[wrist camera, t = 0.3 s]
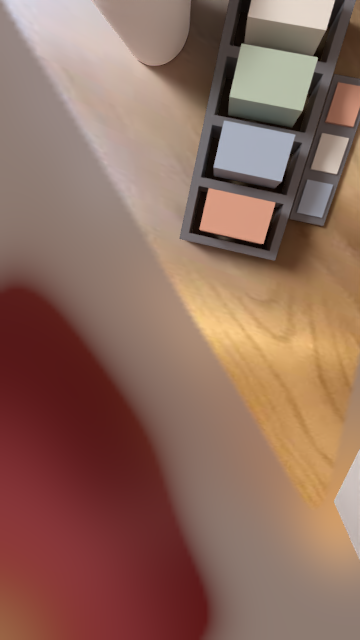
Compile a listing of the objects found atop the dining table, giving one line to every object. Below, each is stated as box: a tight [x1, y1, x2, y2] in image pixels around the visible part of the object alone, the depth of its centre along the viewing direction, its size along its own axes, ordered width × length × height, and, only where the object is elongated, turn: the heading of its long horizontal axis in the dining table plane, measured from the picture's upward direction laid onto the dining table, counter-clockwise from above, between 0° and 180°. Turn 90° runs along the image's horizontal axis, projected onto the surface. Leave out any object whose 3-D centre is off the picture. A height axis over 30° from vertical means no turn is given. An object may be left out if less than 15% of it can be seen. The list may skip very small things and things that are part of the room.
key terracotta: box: [199, 188, 276, 244], centre depth 27 cm, size 4×6×4 cm, turn 77°
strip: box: [288, 74, 360, 226], centre depth 28 cm, size 13×4×1 cm, turn 168°
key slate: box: [213, 120, 295, 189], centre depth 26 cm, size 4×6×4 cm, turn 78°
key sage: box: [228, 44, 318, 128], centre depth 24 cm, size 4×6×4 cm, turn 78°
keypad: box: [180, 0, 356, 261], centre depth 28 cm, size 22×10×4 cm, turn 168°
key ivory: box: [244, 0, 335, 56], centre depth 23 cm, size 4×6×4 cm, turn 78°
